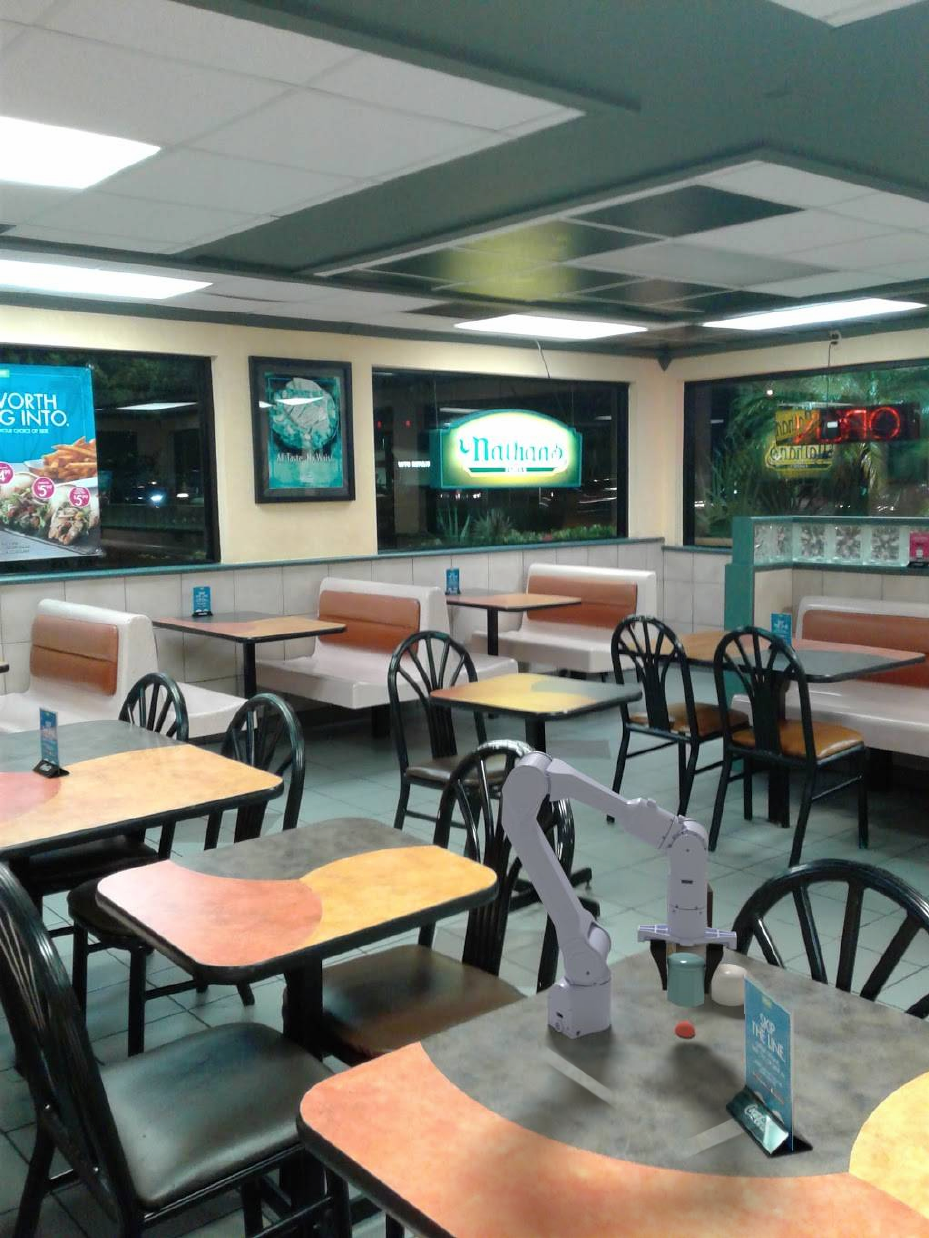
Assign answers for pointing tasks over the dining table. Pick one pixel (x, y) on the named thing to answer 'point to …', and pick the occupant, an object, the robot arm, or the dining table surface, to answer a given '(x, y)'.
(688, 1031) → the red ball
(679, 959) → the teal octagonal canister
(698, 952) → the coffee box
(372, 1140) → the dining table surface
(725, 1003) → the white rounded cylinder
